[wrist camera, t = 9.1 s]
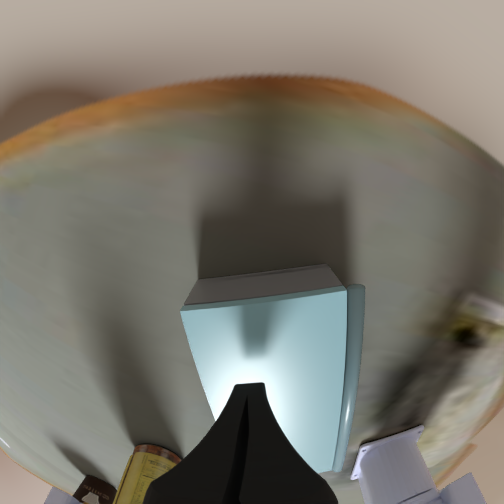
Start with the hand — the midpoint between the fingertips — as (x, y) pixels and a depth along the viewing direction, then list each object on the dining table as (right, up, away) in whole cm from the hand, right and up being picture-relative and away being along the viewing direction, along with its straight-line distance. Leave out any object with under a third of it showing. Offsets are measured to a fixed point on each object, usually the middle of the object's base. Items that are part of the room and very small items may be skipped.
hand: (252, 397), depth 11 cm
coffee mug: (-27, -37, +17) cm, 49 cm away
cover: (+2, -4, +4) cm, 6 cm away
